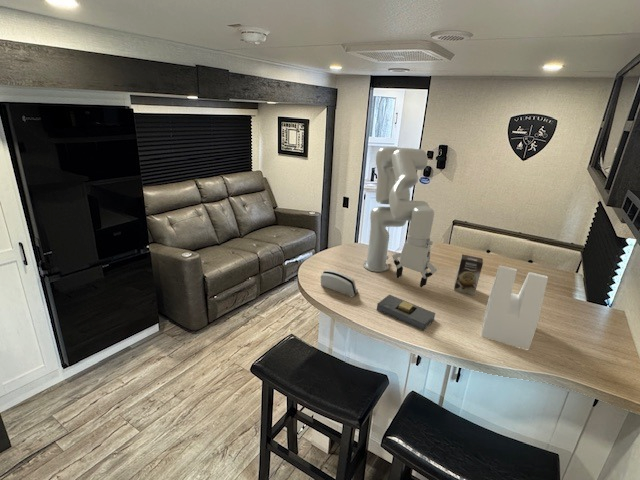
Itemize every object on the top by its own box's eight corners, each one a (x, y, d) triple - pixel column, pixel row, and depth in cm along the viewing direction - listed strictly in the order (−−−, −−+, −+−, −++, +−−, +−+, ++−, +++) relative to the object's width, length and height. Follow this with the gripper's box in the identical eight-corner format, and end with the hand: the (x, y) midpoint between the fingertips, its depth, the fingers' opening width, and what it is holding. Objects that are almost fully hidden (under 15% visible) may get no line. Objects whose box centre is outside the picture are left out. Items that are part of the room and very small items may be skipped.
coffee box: (453, 290, 161) (461, 258, 155) (454, 284, 166) (461, 253, 160) (474, 295, 158) (483, 263, 152) (474, 289, 163) (482, 257, 157)
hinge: (358, 292, 154) (357, 276, 147) (353, 299, 151) (352, 283, 144) (326, 280, 162) (323, 264, 155) (320, 287, 159) (318, 271, 152)
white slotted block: (484, 312, 145) (500, 257, 136) (526, 324, 139) (545, 267, 130) (481, 336, 129) (498, 276, 120) (528, 351, 123) (549, 288, 114)
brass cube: (401, 310, 142) (403, 300, 141) (412, 314, 140) (413, 304, 138) (396, 315, 139) (398, 305, 137) (407, 319, 136) (409, 309, 135)
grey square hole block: (388, 300, 149) (389, 294, 147) (433, 319, 137) (435, 313, 136) (376, 310, 141) (377, 303, 140) (423, 330, 130) (424, 324, 129)
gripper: (445, 244, 126) (435, 286, 132) (401, 231, 135) (394, 270, 142) (437, 250, 120) (427, 293, 127) (391, 236, 130) (385, 277, 136)
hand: (410, 281), depth 134 cm, fingers open, 9 cm apart
